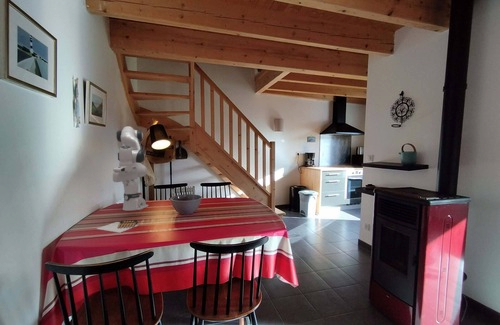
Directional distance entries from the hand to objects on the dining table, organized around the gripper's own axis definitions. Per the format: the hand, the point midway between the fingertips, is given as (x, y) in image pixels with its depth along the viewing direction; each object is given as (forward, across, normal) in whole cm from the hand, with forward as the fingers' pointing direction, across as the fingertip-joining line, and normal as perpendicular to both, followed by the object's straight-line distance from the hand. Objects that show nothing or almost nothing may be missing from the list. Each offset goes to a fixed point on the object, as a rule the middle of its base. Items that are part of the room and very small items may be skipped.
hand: (126, 186), depth 178 cm
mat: (+24, +16, +9) cm, 31 cm away
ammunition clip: (+23, +7, +10) cm, 26 cm away
